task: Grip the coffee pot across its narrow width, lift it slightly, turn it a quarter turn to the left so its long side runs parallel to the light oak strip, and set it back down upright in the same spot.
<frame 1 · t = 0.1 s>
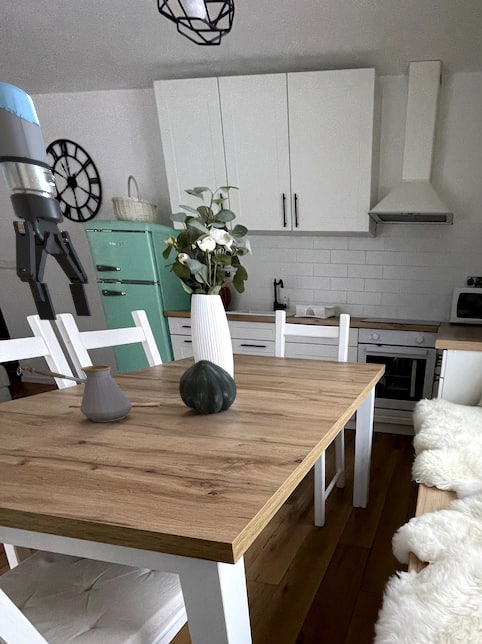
hand: (67, 318, 83), 25 cm above the table, tool pointing down, fingers open, 13 cm apart
squash: (211, 410, 112), on the table
oak strip: (116, 405, 114), on the table
coffee pot: (88, 422, 100), on the table
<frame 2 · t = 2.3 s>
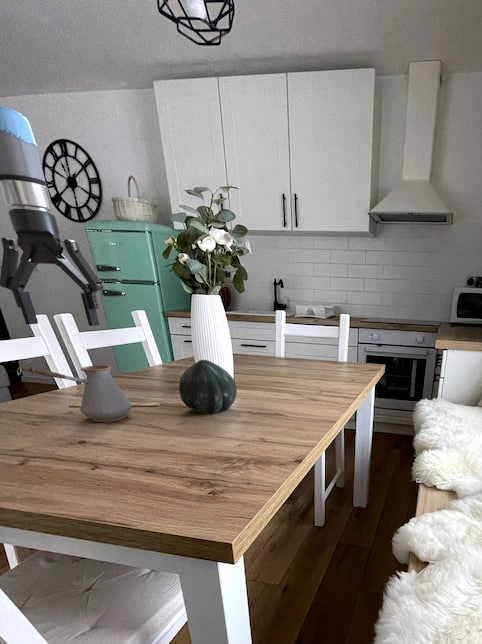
hand: (63, 324, 88), 23 cm above the table, tool pointing down, fingers open, 13 cm apart
nothing on the table moved.
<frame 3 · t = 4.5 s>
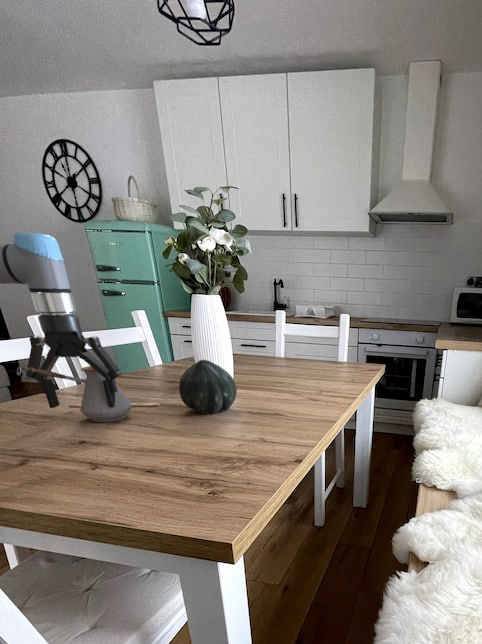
hand: (84, 406, 98), 4 cm above the table, tool pointing down, fingers open, 13 cm apart
coffee pot: (88, 422, 100), on the table, touching gripper
everything else where it was.
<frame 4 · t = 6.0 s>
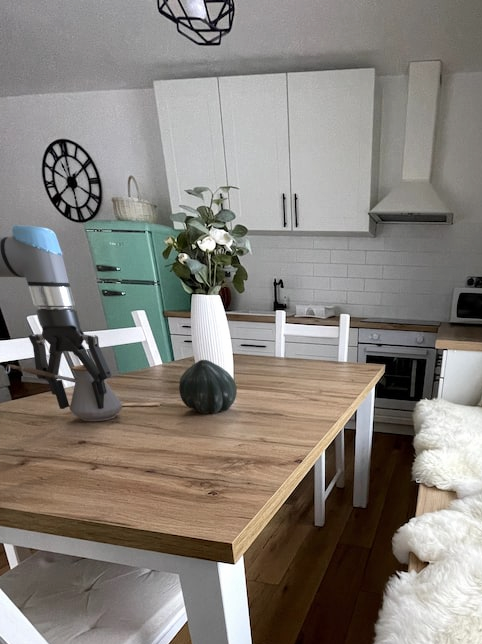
hand: (83, 407, 98), 4 cm above the table, tool pointing down, fingers closed on coffee pot, 8 cm apart
coffee pot: (78, 421, 99), on the table, touching gripper
everything else where it was.
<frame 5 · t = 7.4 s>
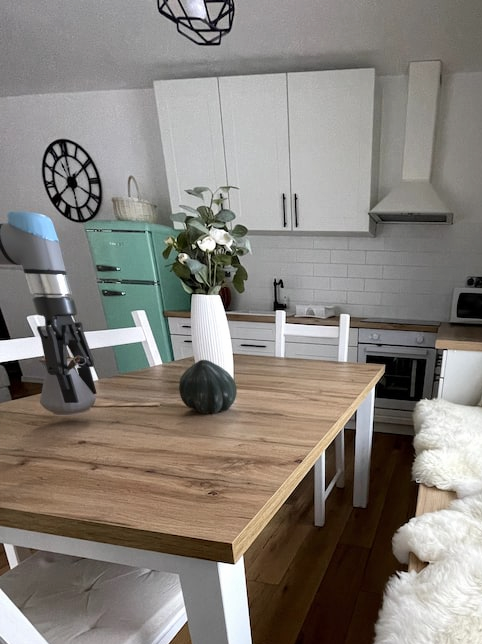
hand: (81, 397, 97), 6 cm above the table, tool pointing down, fingers closed on coffee pot, 8 cm apart
coffee pot: (79, 415, 96), point 2 cm above the table, touching gripper
everything else where it was.
when the fingers open (4 cm above the table, at t = 8.7 s): coffee pot stays where it is, on the table.
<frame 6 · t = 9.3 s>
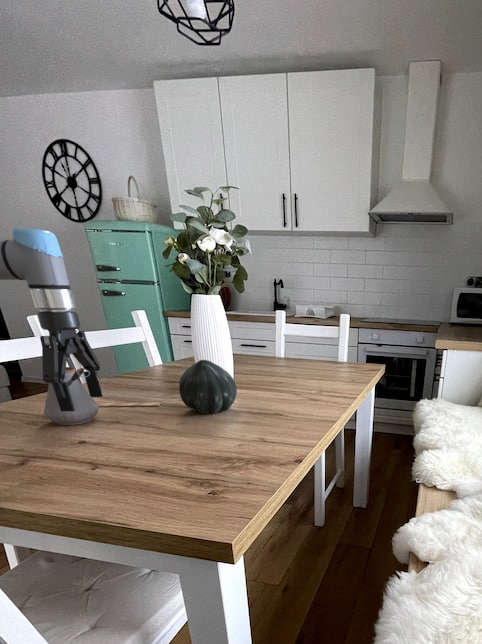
hand: (83, 403, 98), 5 cm above the table, tool pointing down, fingers open, 13 cm apart
coffee pot: (83, 425, 98), on the table
everything else where it was.
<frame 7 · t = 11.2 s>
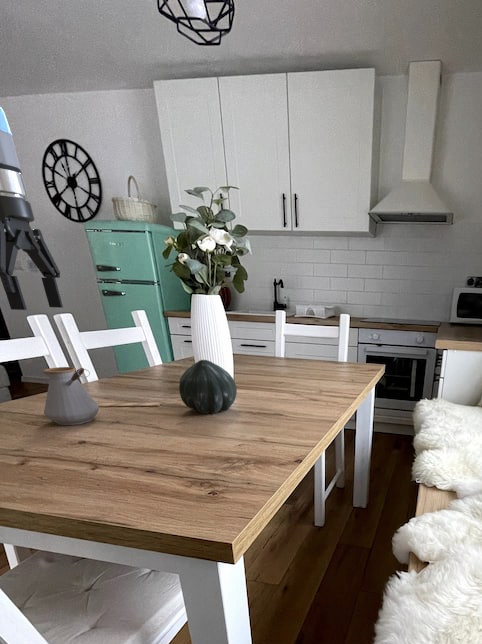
hand: (39, 308, 91), 26 cm above the table, tool pointing down, fingers open, 13 cm apart
nothing on the table moved.
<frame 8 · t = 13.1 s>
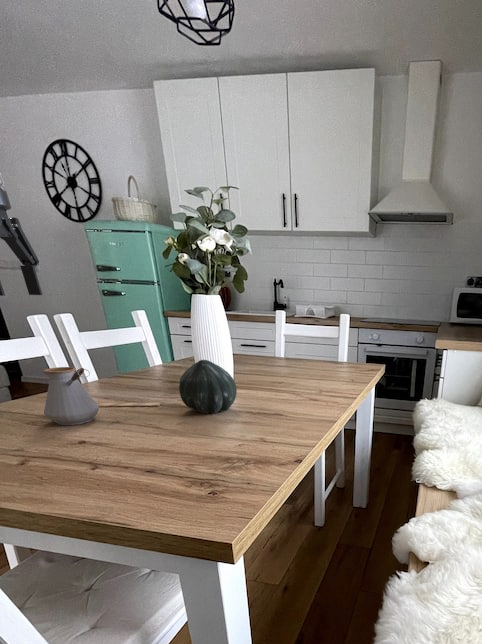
hand: (18, 295, 93), 29 cm above the table, tool pointing down, fingers open, 13 cm apart
nothing on the table moved.
at the end: coffee pot inside the target area (2.4 cm from its centre), on the table; coffee pot tilted 0°; the gripper is holding nothing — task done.
